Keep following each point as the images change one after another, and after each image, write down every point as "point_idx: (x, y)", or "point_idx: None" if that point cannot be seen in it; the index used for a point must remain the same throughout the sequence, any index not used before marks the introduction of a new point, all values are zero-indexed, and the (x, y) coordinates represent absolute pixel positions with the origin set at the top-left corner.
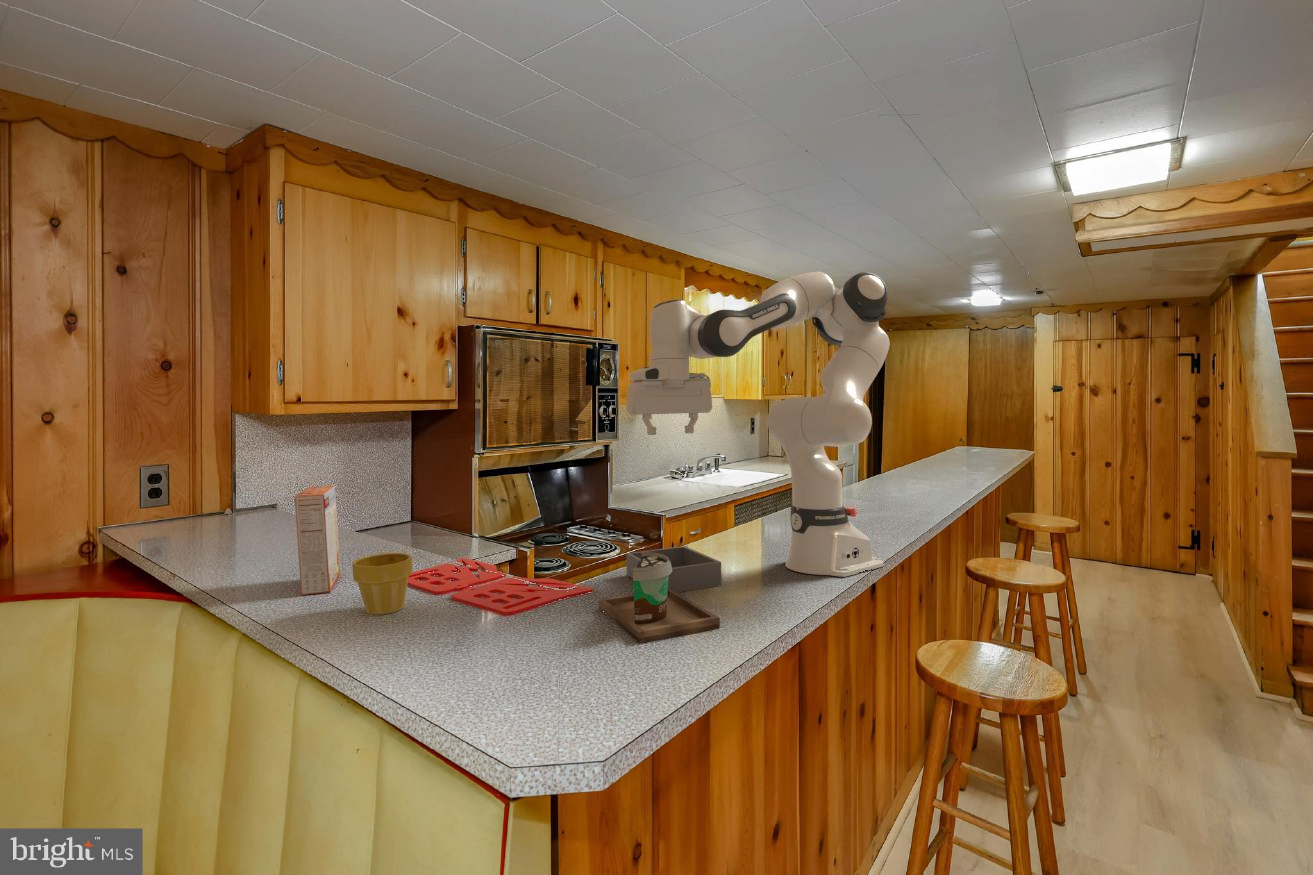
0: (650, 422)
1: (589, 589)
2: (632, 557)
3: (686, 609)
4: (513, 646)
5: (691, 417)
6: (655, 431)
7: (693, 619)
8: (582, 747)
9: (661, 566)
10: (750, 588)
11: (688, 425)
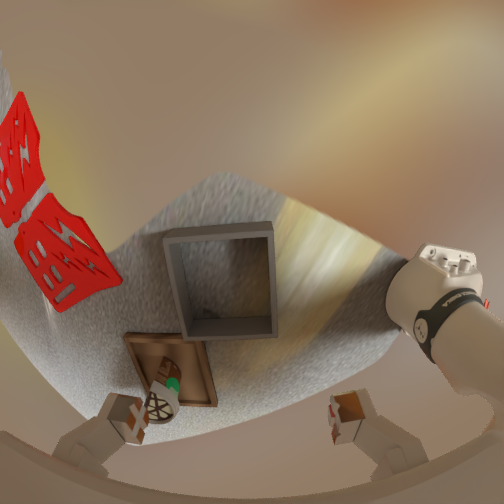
0: (108, 457)
1: (117, 283)
2: (166, 263)
3: (201, 375)
4: (78, 364)
5: (375, 470)
6: (142, 427)
7: (200, 392)
8: None
9: (164, 422)
10: (300, 337)
11: (364, 420)
